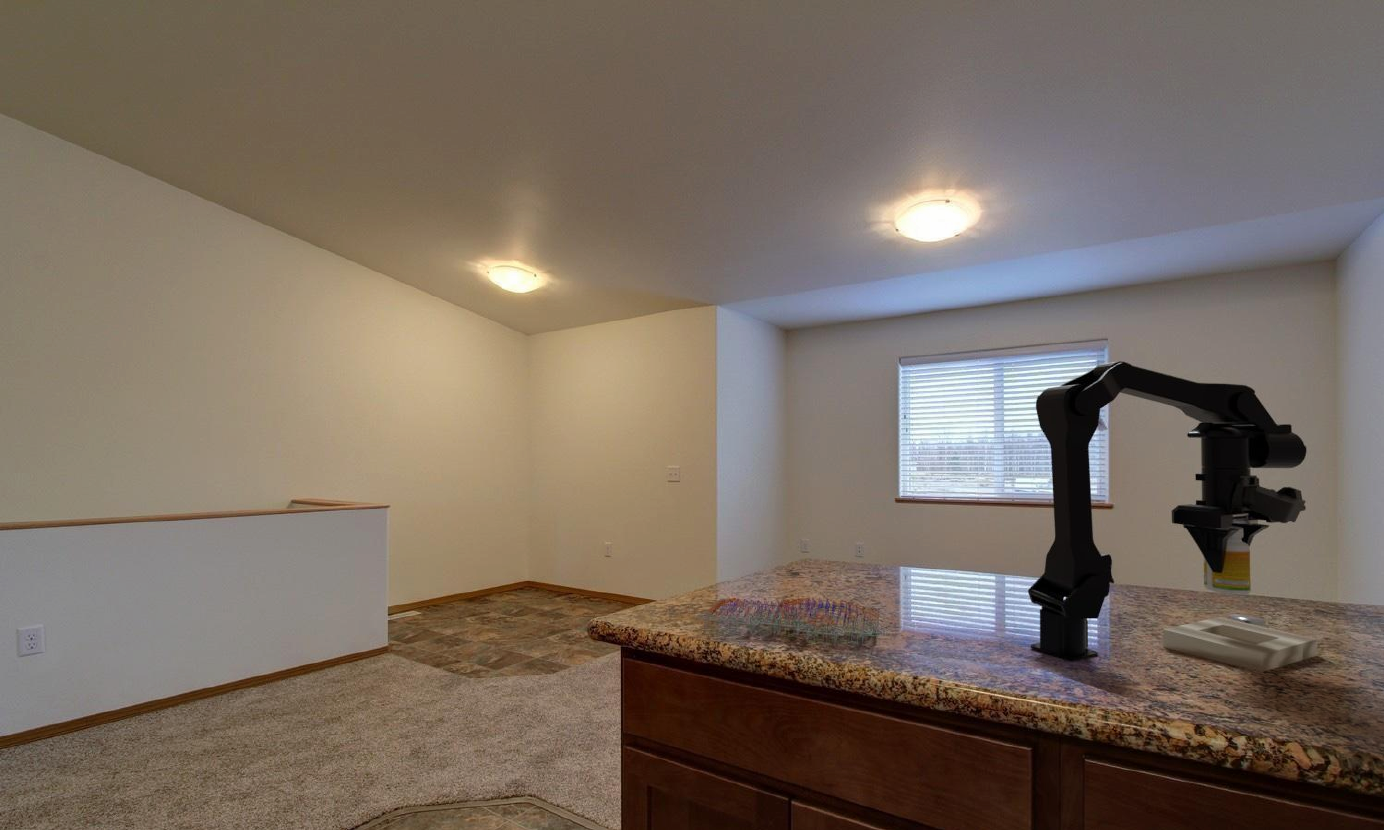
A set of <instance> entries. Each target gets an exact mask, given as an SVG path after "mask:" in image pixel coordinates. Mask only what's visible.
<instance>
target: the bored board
mask: <svg viewBox="0 0 1384 830" xmlns="http://www.w3.org/2000/svg"><path fill="white" fill-rule="evenodd" d="M1162 647H1163V649H1169V650H1172V651H1177V652H1181V653H1185V654H1188V655H1192V656H1196V657H1200V658H1205V659H1209V660H1212V661H1215V662H1220V663H1224V664H1229V665H1232V666H1236V667H1240V668H1244V669H1249V670H1253V671H1257V672H1260V673H1263V672H1266V671H1267V672H1268V671H1271V670H1273V669H1277V668H1280V667H1284V666H1287V665H1291V664H1294V663H1298V662H1302V661H1305V660H1307V659H1312V658H1314V657H1318V638H1314V637H1310V636H1305V635H1301V634H1296V633H1292V632H1287V631H1283V630H1280V629H1279V630H1278V629H1274V628H1270V627H1267V626H1266V627H1262V626H1257V625H1253V624H1248V623H1244V622H1240V621H1235V620H1231V619H1229V618H1226V617H1221V616H1218V617H1213V618H1208V619H1204V620H1199V621H1195V622H1191V623H1190V622H1189V623H1186V624H1181V625H1177V626H1171V627H1168V628H1162ZM1311 657H1312V658H1311Z"/></svg>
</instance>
